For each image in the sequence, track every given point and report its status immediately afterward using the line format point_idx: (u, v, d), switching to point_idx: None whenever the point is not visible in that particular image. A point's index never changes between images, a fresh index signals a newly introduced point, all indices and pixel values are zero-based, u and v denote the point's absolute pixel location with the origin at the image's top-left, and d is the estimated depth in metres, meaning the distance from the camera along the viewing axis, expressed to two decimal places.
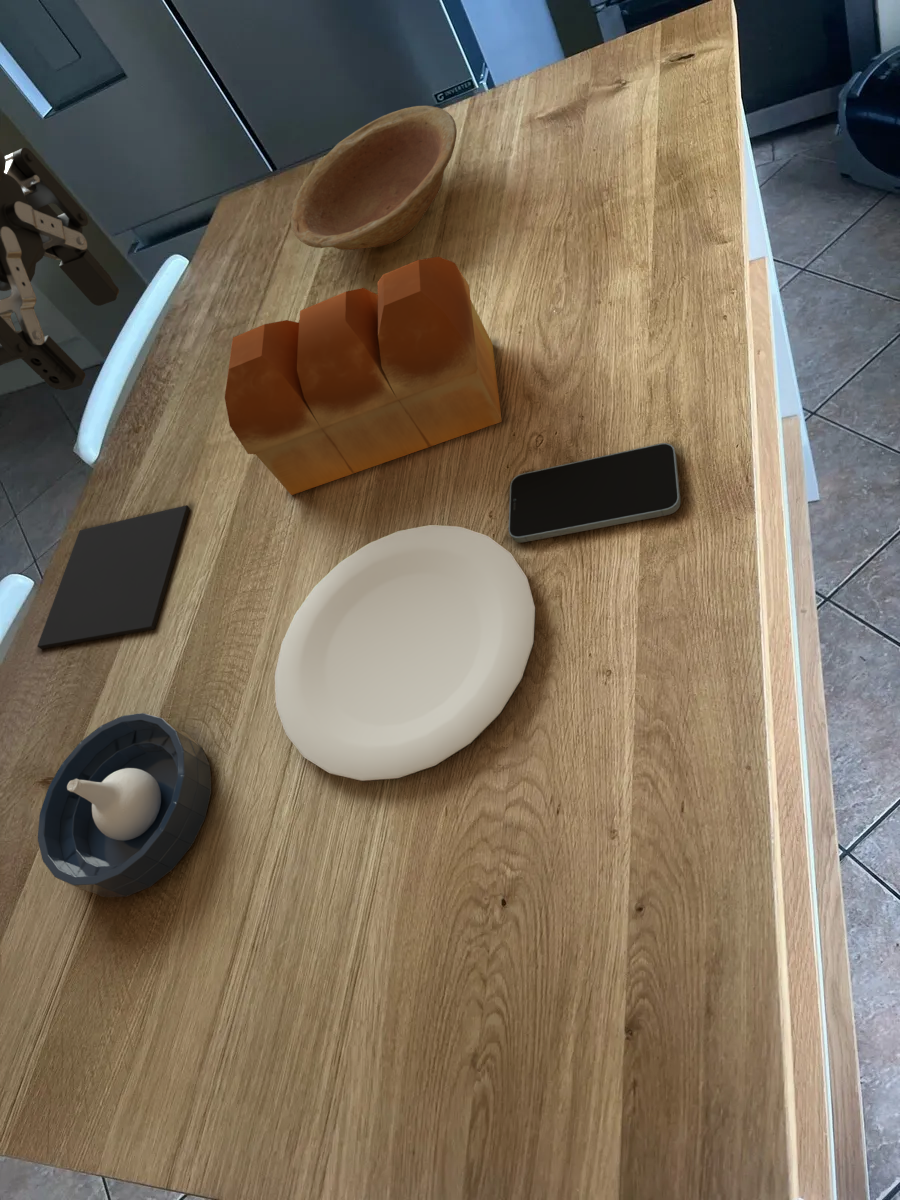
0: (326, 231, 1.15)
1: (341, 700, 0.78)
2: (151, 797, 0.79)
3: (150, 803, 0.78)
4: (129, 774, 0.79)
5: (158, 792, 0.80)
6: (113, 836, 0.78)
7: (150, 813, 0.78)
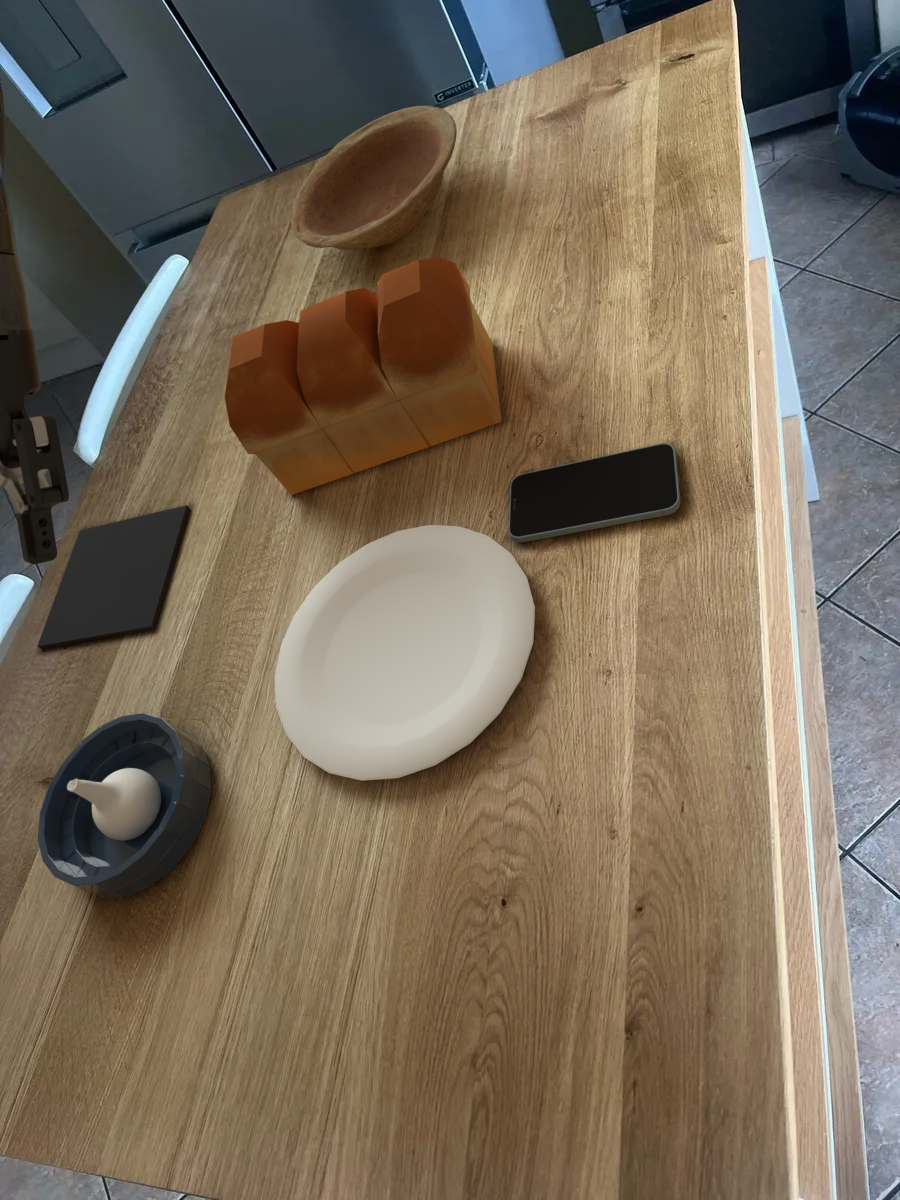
0: (326, 231, 1.15)
1: (341, 700, 0.78)
2: (151, 797, 0.79)
3: (150, 803, 0.78)
4: (129, 774, 0.79)
5: (158, 792, 0.80)
6: (113, 836, 0.78)
7: (150, 813, 0.78)
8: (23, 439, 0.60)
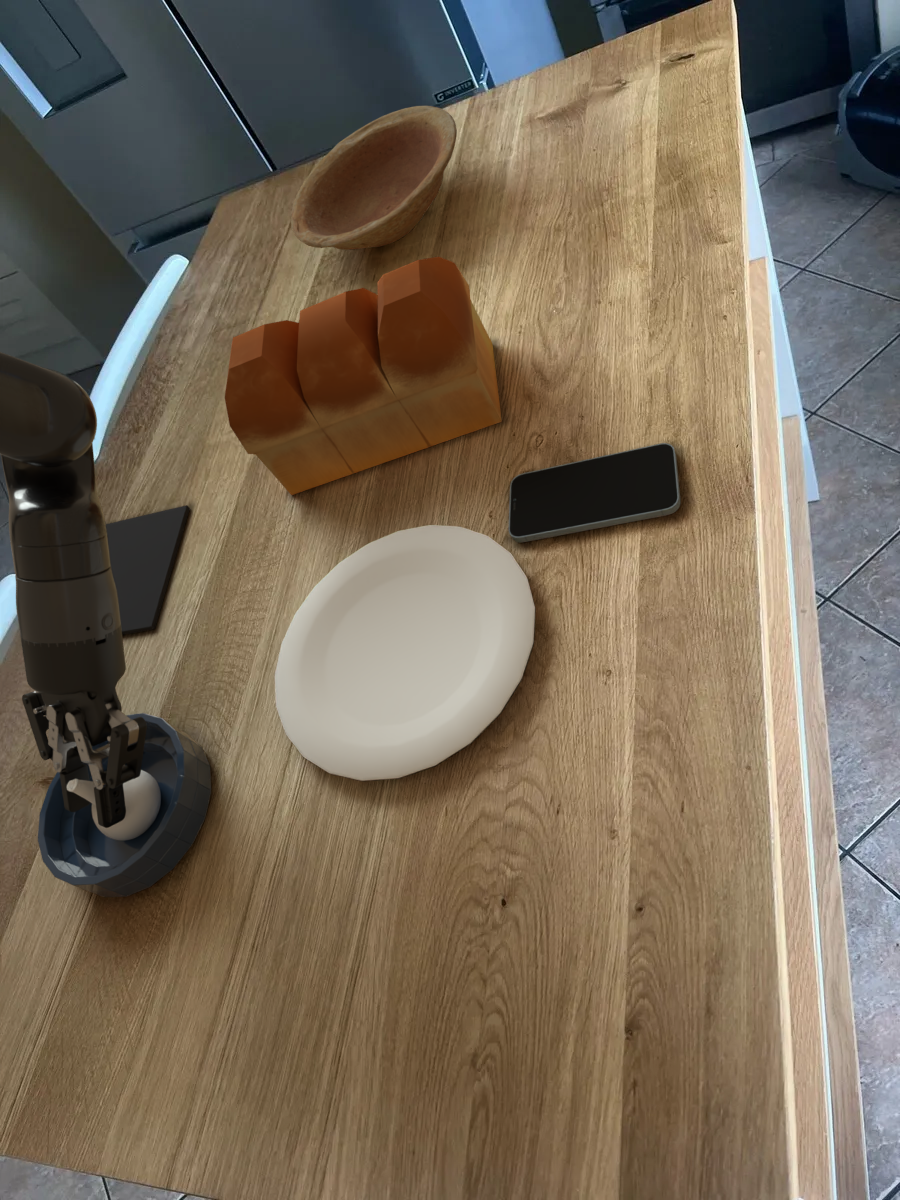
0: (326, 231, 1.15)
1: (341, 700, 0.78)
2: (150, 797, 0.79)
3: (150, 803, 0.78)
4: None
5: (158, 792, 0.80)
6: (113, 836, 0.78)
7: (150, 813, 0.78)
8: (119, 745, 0.70)
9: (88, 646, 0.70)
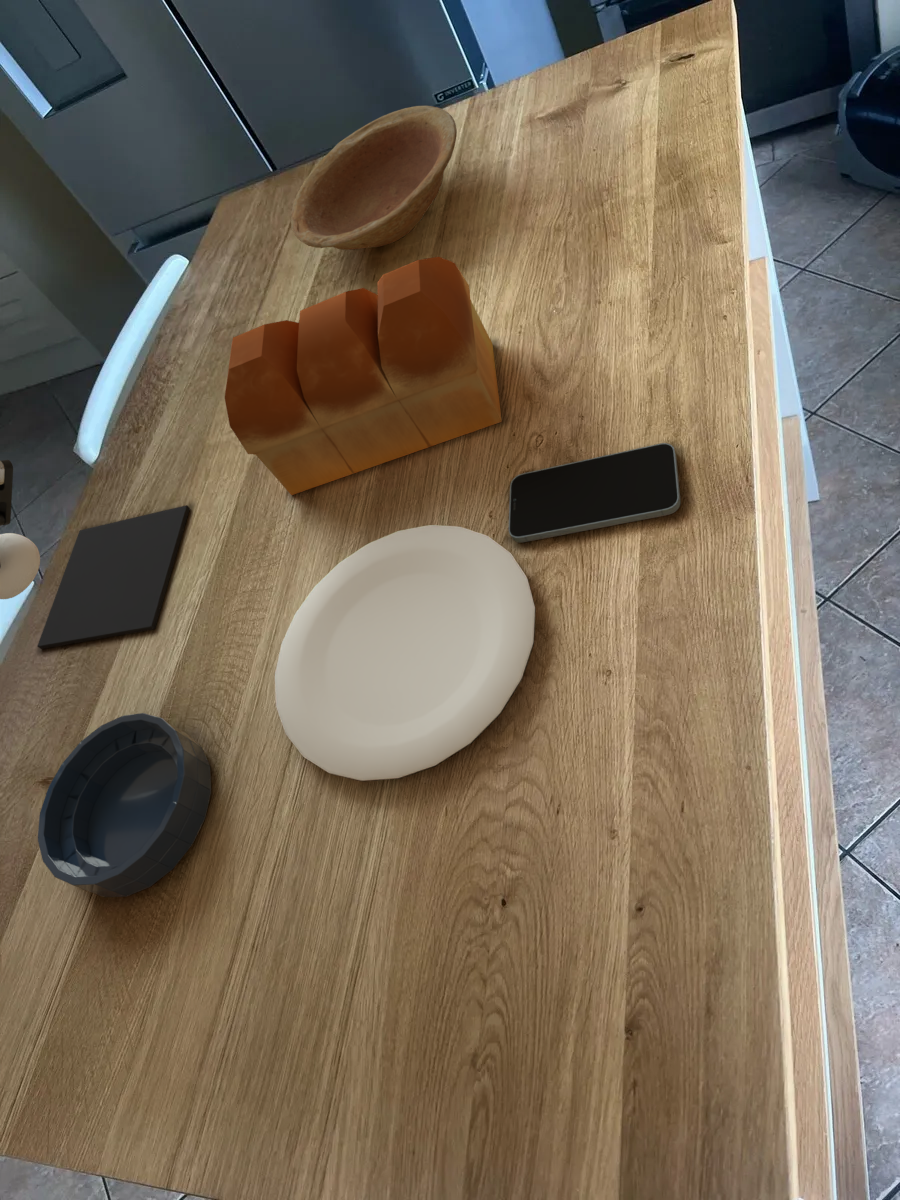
0: (326, 231, 1.15)
1: (341, 700, 0.78)
2: (28, 556, 0.82)
3: (26, 561, 0.82)
4: (7, 535, 0.83)
5: (37, 554, 0.83)
6: None
7: (27, 570, 0.82)
8: None
9: None
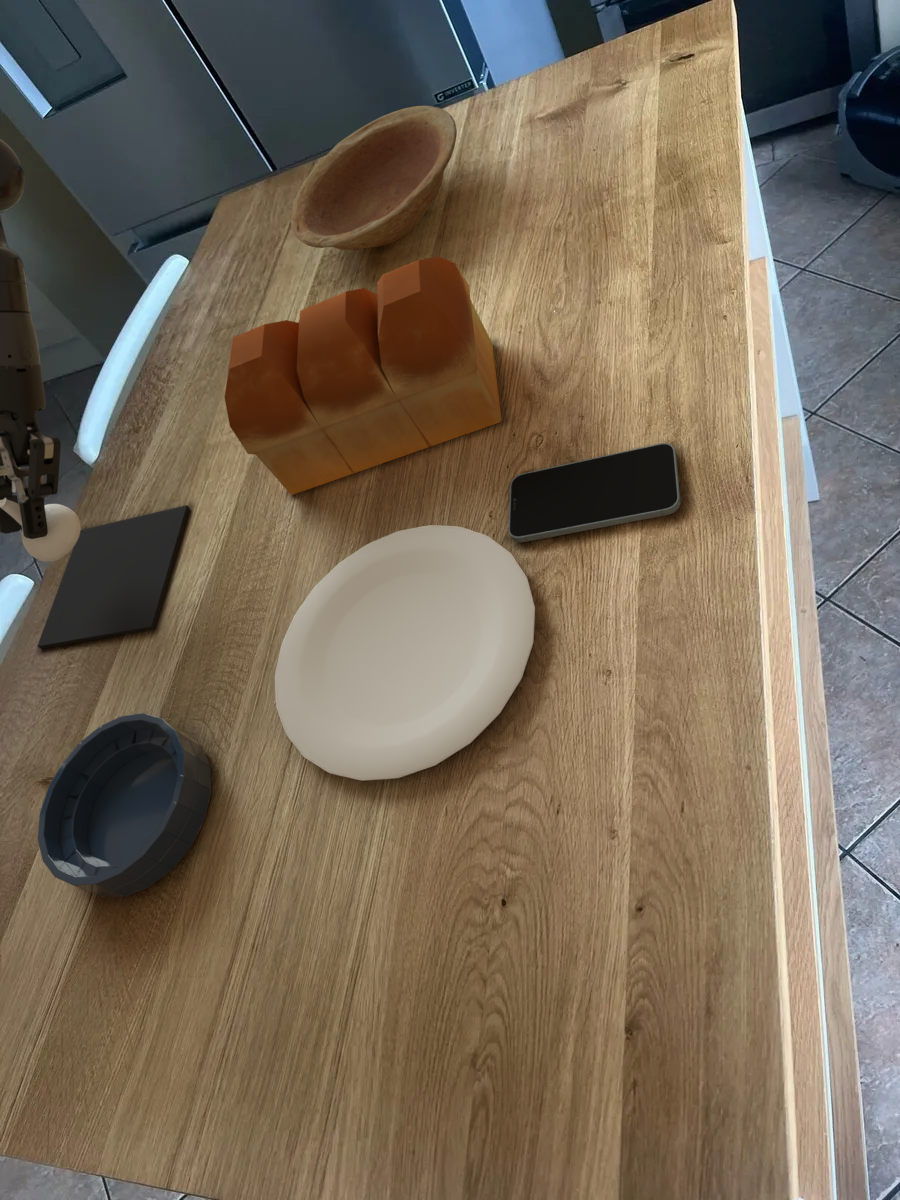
0: (326, 231, 1.15)
1: (341, 700, 0.78)
2: (70, 523, 0.94)
3: (70, 527, 0.93)
4: (52, 505, 0.94)
5: (78, 522, 0.95)
6: (39, 555, 0.93)
7: (70, 535, 0.93)
8: (36, 455, 0.85)
9: (10, 371, 0.85)
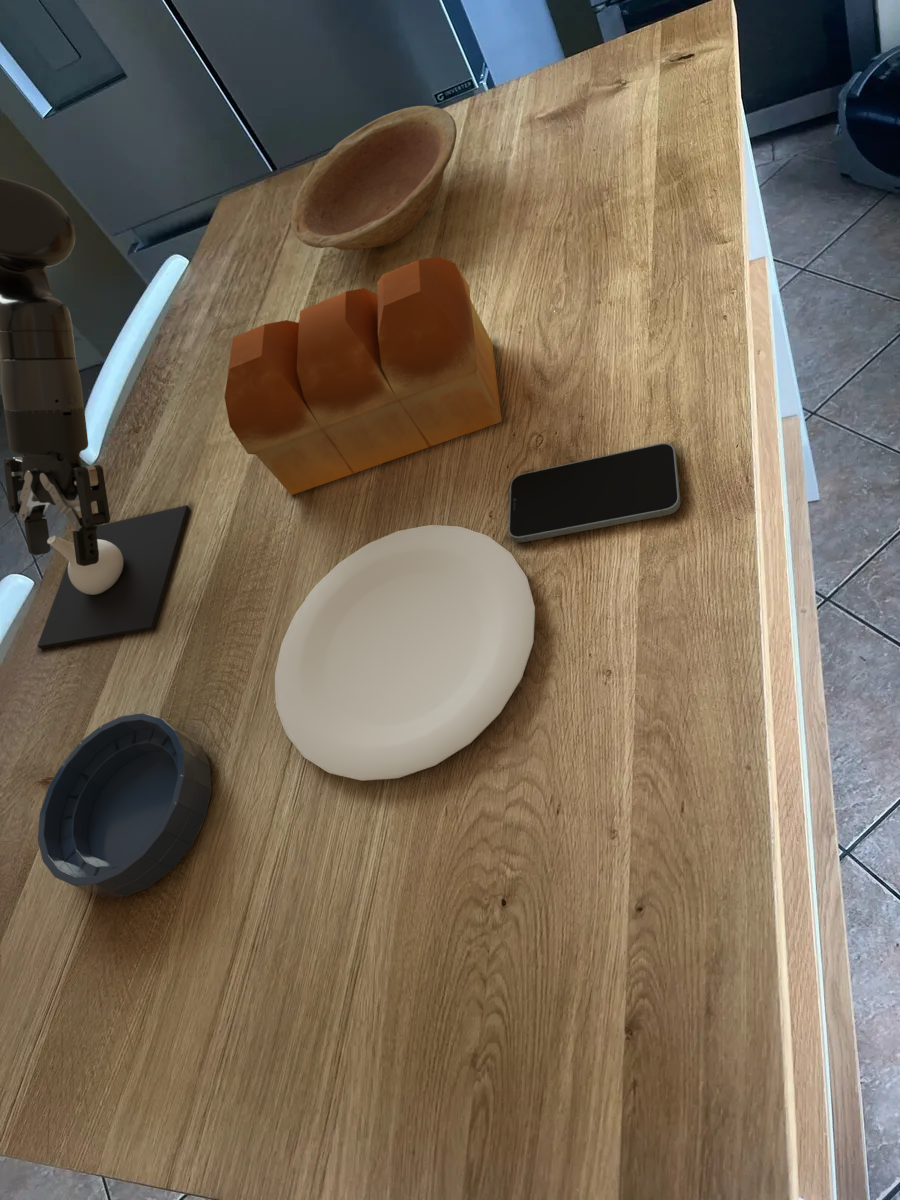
0: (326, 231, 1.15)
1: (341, 700, 0.78)
2: (114, 558, 0.99)
3: (114, 562, 0.99)
4: (97, 541, 0.99)
5: (121, 557, 1.00)
6: (84, 588, 0.98)
7: (114, 570, 0.99)
8: (82, 481, 0.89)
9: (57, 415, 0.90)
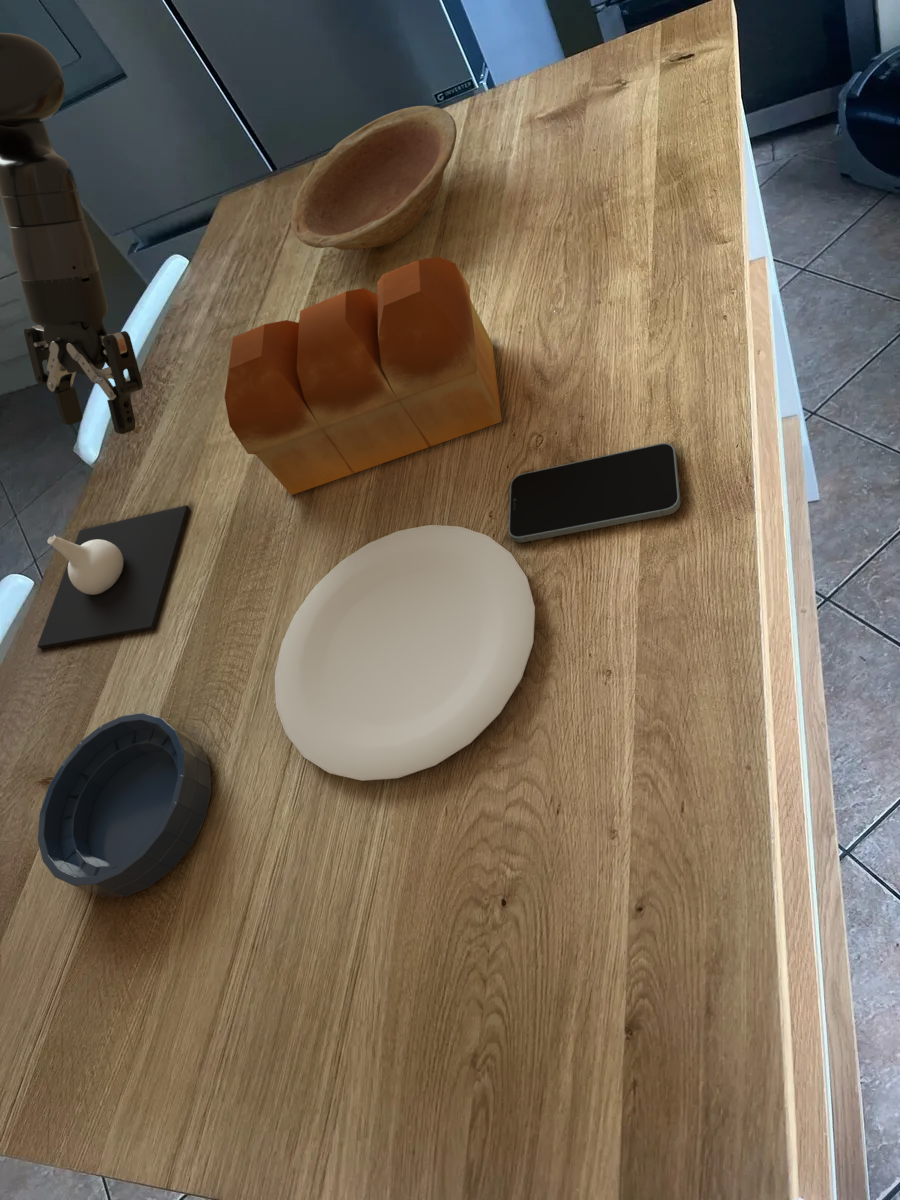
0: (326, 231, 1.15)
1: (341, 700, 0.78)
2: (114, 558, 0.99)
3: (114, 562, 0.99)
4: (97, 541, 0.99)
5: (121, 557, 1.00)
6: (84, 588, 0.98)
7: (114, 570, 0.99)
8: (112, 350, 0.90)
9: (76, 282, 0.88)
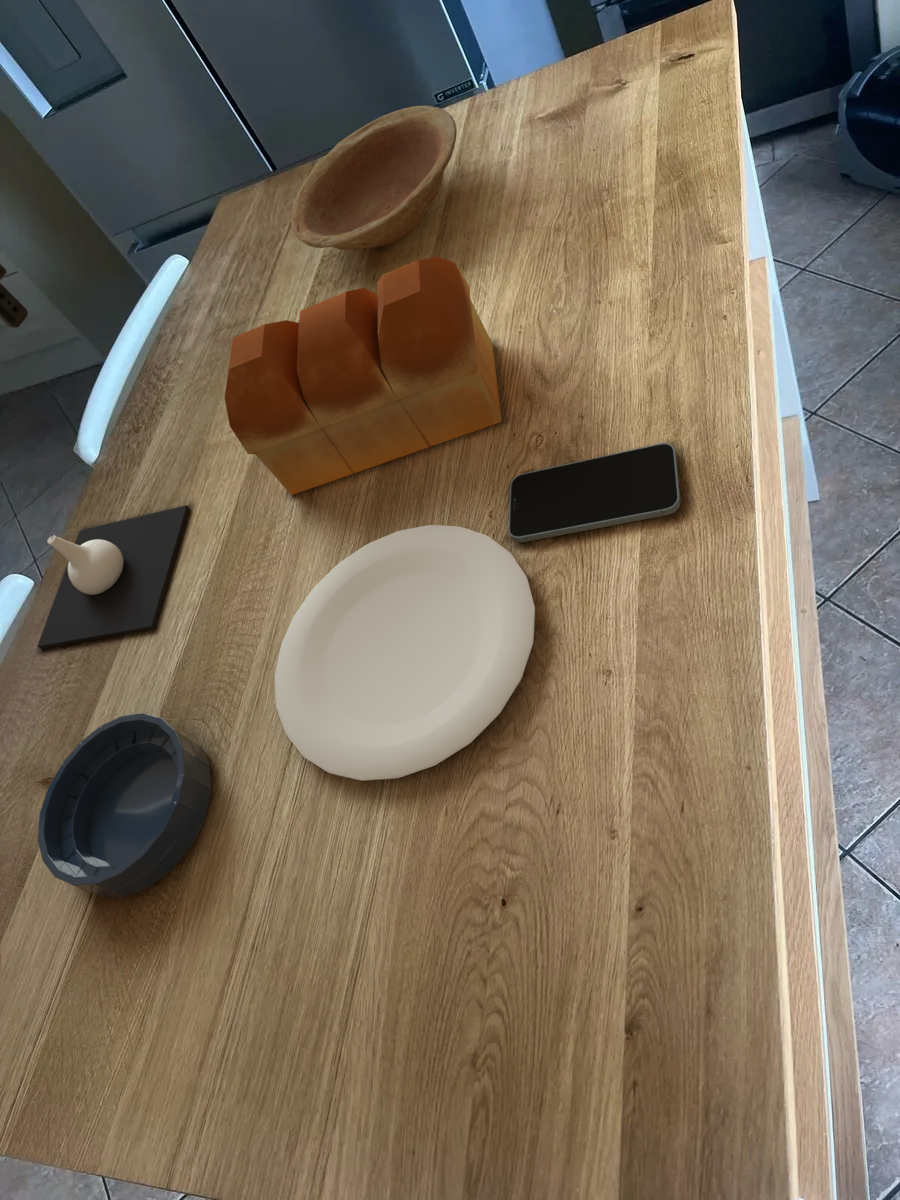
0: (326, 231, 1.15)
1: (341, 700, 0.78)
2: (114, 558, 0.99)
3: (114, 562, 0.99)
4: (97, 541, 0.99)
5: (121, 557, 1.00)
6: (84, 588, 0.98)
7: (114, 570, 0.99)
8: None
9: None
